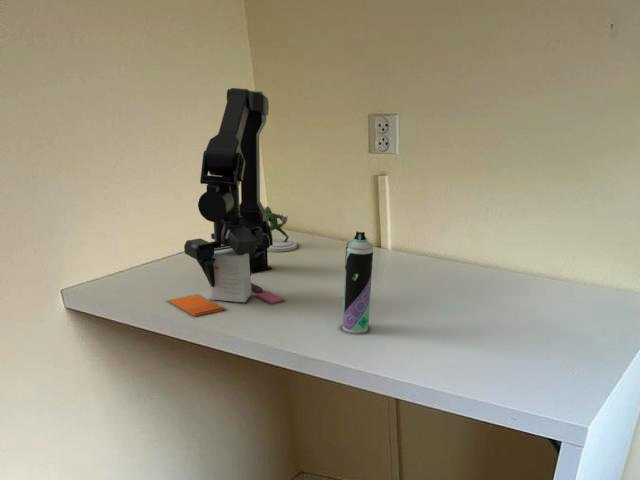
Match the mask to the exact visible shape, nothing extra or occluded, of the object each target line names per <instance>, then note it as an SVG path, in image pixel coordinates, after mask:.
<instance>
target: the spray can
mask: <svg viewBox="0 0 640 480" xmlns="http://www.w3.org/2000/svg"><path fill="white" fill-rule="evenodd" d="M373 256H374V244H373V243H372V242H370V241H369V240H368V238H367V237H366V232H365V231H355V235H354V236H353V237H352V239H351V240H350V241H347V242H346V246H345V257H344V258H345V260H344V284H343V306H342V307H343V308H342V309H343V310H342V331H344V332H346V333H348V334H355V335H358V334H359V335H361V334H364V333H367V332H368V331H369V324H370V323H369V321H370V306H371V292H372V277H373V276H372V275H373V260H374V257H373Z"/></svg>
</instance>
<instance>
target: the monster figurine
mask: <svg viewBox="0 0 640 480" xmlns="http://www.w3.org/2000/svg"><path fill="white" fill-rule="evenodd" d="M263 208H264V209H265V211H266V213H267V221H268V222H269V225H270V228H271V232H272V231H274V230H276V231H277V232H279V233H280V234H282V235H283V236H273V235H272V238H273V245H271V246H270V247H269V248H267V252H274V253H277V252H278V253H279V252H281V253H282V252H290V251H294V250H295V249H297V247H298V242H297V241H296V240H294V239H291V238H289V235H288V233H286V232H285V231H284V230H283V226H284V225H286V224H287V222H288V215H286V216H284V215H283V214H280V213H274V210H273V211H272V209H271V207H270V206H269V205H266V207H265V206H263ZM278 219H279V220H280V221H281V223H279V220H278Z"/></svg>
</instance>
